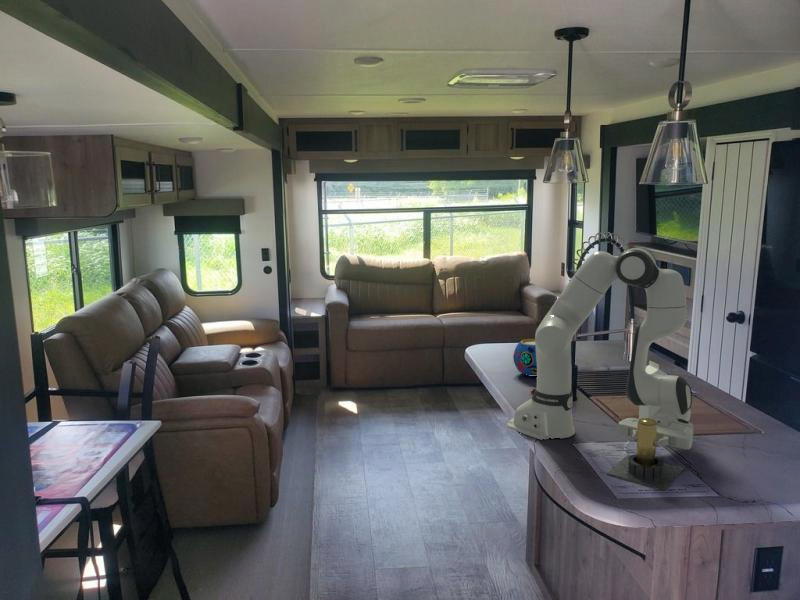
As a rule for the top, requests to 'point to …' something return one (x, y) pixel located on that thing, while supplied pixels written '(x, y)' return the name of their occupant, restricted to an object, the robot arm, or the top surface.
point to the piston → (646, 441)
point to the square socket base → (646, 472)
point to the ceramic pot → (526, 357)
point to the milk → (649, 410)
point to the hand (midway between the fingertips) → (645, 441)
